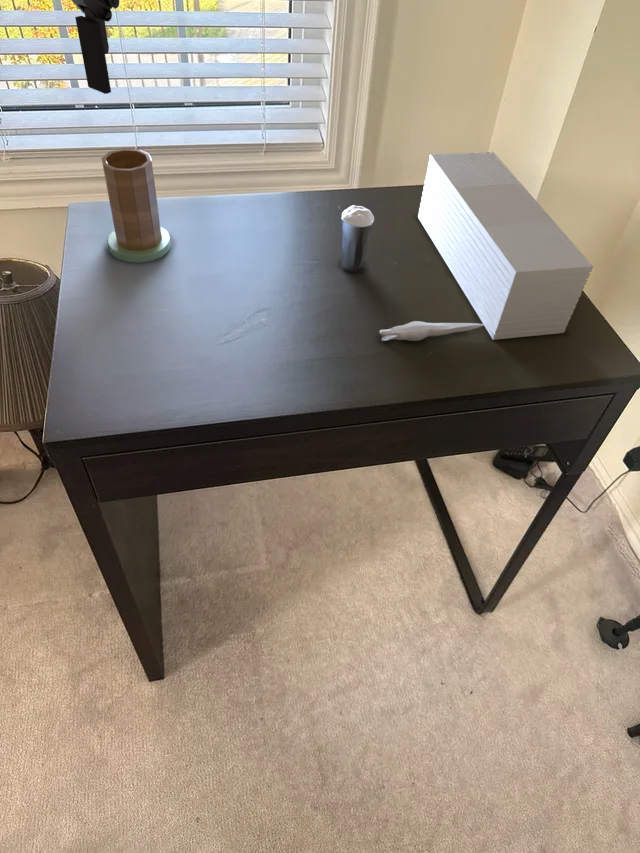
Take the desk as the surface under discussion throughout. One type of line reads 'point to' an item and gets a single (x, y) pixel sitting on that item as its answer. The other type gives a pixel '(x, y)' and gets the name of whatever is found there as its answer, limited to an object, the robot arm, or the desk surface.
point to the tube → (132, 198)
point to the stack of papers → (501, 246)
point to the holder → (138, 254)
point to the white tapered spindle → (425, 330)
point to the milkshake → (355, 236)
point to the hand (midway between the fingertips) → (46, 108)
